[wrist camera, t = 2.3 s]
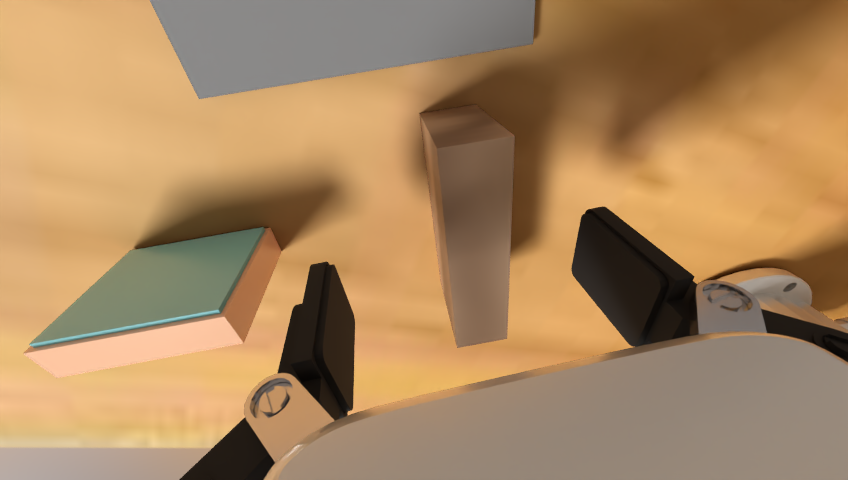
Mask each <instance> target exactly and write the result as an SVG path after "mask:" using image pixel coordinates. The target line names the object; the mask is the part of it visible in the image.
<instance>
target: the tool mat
mask: <svg viewBox="0 0 848 480" xmlns="http://www.w3.org/2000/svg"><path fill="white" fill-rule="evenodd" d="M150 2H151V4H152V6H153V8H154V10H155V12H156V14H157V16H158V18H159V20H160V22H161V24H162V26H163V28H164V30H165V32H166V34H167V36H168V38H169V40H170V42H171V44H172V46H173V48H174V50H175V52H176V54H177V56H178V58H179V60H180V62H181V64H182V66H183V68H184V70H185V72H186V74H187V76H188V78H189V80H190V82H191V84H192V86H193V88H194V90H195V92H196V94H197V96H198V98H199V99H202V98H208V97H214V96H221V95H227V94H233V93H239V92H245V91H251V90H257V89H263V88H269V87H275V86H281V85H287V84H293V83H299V82H305V81H312V80H318V79H324V78H330V77H336V76H342V75H348V74H354V73H360V72H366V71H372V70H378V69H384V68H390V67H397V66H403V65H409V64H415V63H421V62H427V61H433V60H439V59H445V58H451V57H457V56H463V55H469V54H475V53H482V52H488V51H494V50H500V49H506V48H512V47H518V46H524V45H530V44H533V34H534V16H535V0H150Z"/></svg>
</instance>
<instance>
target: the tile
mask: <svg viewBox="0 0 848 480" xmlns="http://www.w3.org/2000/svg"><path fill="white" fill-rule="evenodd" d="M281 252H282V251H281V249H280V247H279V245H278V243H277V241H276V239H275V236H274V234H273V232H272V230H271V228H266V229H265V228H264V227H260V228H255V229H249V230H243V231H238V232H232V233H226V234H221V235H215V236H209V237H204V238H198V239H192V240H187V241H181V242H175V243H170V244H164V245H158V246H153V247H147V248H141V249H136V250H130V251H129V252H128V253H127V254H126V255H125V256H124V257H123V258H122V259H121V260H120V261H118V262H117V263H116V264H115V265H114V266H113V267H112V268H111V269H110V270H109V271H108V272H107V273H105V274H104V275H103V276H102V277H101V278H100V279H99V280H98V281H97V282H96V283H95V284H94V285H93V286H91V287H90V288H89V289H88V290H87V291H86V292H85V293H84V294H83V295H82V296H81V297H80V298H79V299H77V300H76V301H75V302H74V303H73V304H72V305H71V306H70V307H69V308H68V309H67V310H66V311H64V312H63V313H62V314H61V315H60V316H59V317H58V318H57V319H56V320H55V321H54V322H53V323H52V324H50V325H49V326H48V327H47V328H46V329H45V330H44V331H43V332H42V333H41V334H40V335H39V336H38V337H36V338H35V339H34V340H33V341H32V342H31V343H30V344H29V345H31V347H30V348H28V349H27V350H26V351H25V352H24V353H23V354H24V355H25V356H27V357H28V358H30V359H31V360H32V361H34V362H35V363H37V364H38V365H39V366H41V367H42V368H44V369H45V370H46V371H48V372H49V373H51V374H52V375H53V376H55V377H56V378H59V377H65V376H70V375H76V374H81V373H86V372H92V371H97V370H102V369H108V368H113V367H118V366H124V365H129V364H135V363H140V362H145V361H151V360H156V359H161V358H167V357H172V356H177V355H183V354H188V353H194V352H199V351H204V350H210V349H215V348H220V347H226V346H231V345H236V344H242V343H244V341H245V339H246V336H247V334H248V331H249V329H250V327H251V324H252V322H253V319H254V317H255V315H256V312H257V310H258V307H259V305H260V302H261V300H262V298H263V295H264V293H265V290H266V288H267V285H268V283H269V281H270V278H271V276H272V273H273V271H274V269H275V266H276V264H277V261H278V259H279V256H280V254H281Z"/></svg>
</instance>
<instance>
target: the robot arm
mask: <svg viewBox="0 0 848 480" xmlns="http://www.w3.org/2000/svg"><path fill="white" fill-rule="evenodd" d="M572 274H573V276H574V277H575V279H576V280H577V281H578V282H579V283H580V285H581V286H582V287H583V288H584V290H585V291H586V292H587V293H588V294H589V296H590V297H591V298H592V299H593V301H594V302H595V303H596V304H597V306H598V307H599V308H600V309H601V310H602V312H603V313H604V314H605V315H606V317H607V318H608V319H609V320H610V322H611V323H612V324H613V325H614V326H615V328H616V329H617V330H618V331H619V333H620V334H621V335H622V336H623V337H624V339H625V340H626V341H627V342H628V343H629V344H630V345H631V346H635V347H633V348H629V349H624V350H620V351H615V352H610V353H606V354H601V355H597V356H592V357H588V358H583V359H579V360H574V361H570V362H565V363H561V364H557V365H552V366H548V367H543V368H539V369H534V370H530V371H525V372H521V373H517V374H512V375H508V376H503V377H499V378H495V379H490V380H486V381H482V382H477V383H473V384H469V385H464V386H460V387H456V388H451V389H447V390H443V391H438V392H434V393H430V394H426V395H421V396H417V397H413V398H409V399H405V400H401V401H397V402H393V403H389V404H385V405H381V406H377V407H374V408H371V409H367V410H364V411H360V412H357V413H354V414H351V415H348V416H347V413H348V411H350V410H352V409H353V385H354V342H355V319H354V314H353V311H352V309H351V306H350V304H349V301H348V299H347V296H346V293H345V291H344V288H343V286H342V283H341V280H340V278H339V275H338V273H337V270H336V268H335V266H334V265H329V263H328V262H323V263H318V264H313V265H311V266H310V270H309V275H308V280H307V285H306V289H305V294H304V299H303V304H299V305H295V306H294V308H293V310H292V314H291V319H290V323H289V327H288V331H287V336H286V340H285V344H284V348H283V353H282V357H281V361H280V365H279V369H278V374H274V375H272V376H269V377H267V378H266V379H264V380H263V381H261V382H260V383H259V384H258V385H257V386H256V387H255V388H254V389H253V390H252V391H251V393H250V394H249V396H248V397H247V400H246V402H245V405H244V415H245V418H244V419H243V420H242V421H241V422H240V423H239V424H237V425H236V426H235V427H234V428H233V429H232V430H231V431H230V432H229V433H228V434H227V435H226V436H225V437H224V438H223V439H222V440H221V441H220V442H219V443H217V444H216V445H215V446H214V447H213V448H212V449H211V450H210V451H209V452H208V453H207V454H206V455H205V456H204V457H203V458H202V459H201V460H200V461H199V462H198V463H196V464H195V465H194V466H193V467H192V468H191V469H190V470H189V471H188V472H187V473H186V474H185V475H184V476H183V477H182V478H181V479H180V480H848V317H846V318H841V319H836V320H834V321H833V320H831V319H830V318H828V317H827V316H825V315H824V314H822V313H821V312H819V311H817V310H816V309H814V308H813V307H811V303H812V291H811V288H810V286H809V284H807V283H806V282H805V281H804V280H802V279H801V278H799V277H797V276H796V275H794V274H792V273H790V272H788V271H786V270H783V269H777V268H755V269H750V270H745V271H739V272H736V273H733V274H730V275H727V276H723V277H721V278H718V279H716V280H706V281H703V282H700V283H699V284H698V285H697V284H696V283H695V282H693V279H694V276H693V275H692V274H691V273H689V272H688V271H687V270H685V269H684V268H683V267H682V266H680V265H679V264H678V263H676V262H675V261H674V260H673V259H671V258H670V257H669V256H668V255H666V254H665V253H664V252H662V251H661V250H660V249H659V248H657V247H656V246H655V245H653V244H652V243H651V242H650V241H648V240H647V239H646V238H645V237H643V236H642V235H641V234H639V233H638V232H637V231H636V230H634V229H633V228H632V227H630V226H629V225H628V224H627V223H625V222H624V221H623V220H622V219H620V218H619V217H618V216H616V215H615V214H614V213H613V212H611V211H610V210H609V209H607V208H606V207H598V208H593V209H588V210H587V211H586V212H585V214H583V215H582V217H581V222H580V227H579V232H578V237H577V242H576V248H575V253H574V258H573V263H572Z"/></svg>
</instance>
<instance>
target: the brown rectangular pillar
mask: <svg viewBox="0 0 848 480" xmlns="http://www.w3.org/2000/svg"><path fill="white" fill-rule="evenodd" d="M420 121H421V129H422V137H423V145H424V153H425V161H426V169H427V177H428V185H429V193H430V201H431V209H432V217H433V225H434V232H435V240H436V248H437V256H438V264H439V272H440V280H441V285H442V289H443V293H444V297H445V301H446V305H447V309H448V313H449V317H450V321H451V325H452V329H453V333H454V337H455V341H456V345H457V348H460V347H465V346H470V345H476V344H481V343H487V342H492V341H497V340H503V339H507V326H508V300H509V275H510V249H511V223H512V197H513V171H514V145H515V135H513V134H512V133H511V132H510V131H508V130H507V129H506V128H504V127H503V126H502V125H501V124H499V123H498V122H497V121H496V120H494V119H493V118H492V117H491V116H489V115H488V114H487V113H486V112H484V111H483V110H482V109H481V108H479V107H478V106H477V105H476V104H474V105H468V106H462V107H456V108H449V109H443V110H437V111H431V112H424V113H420Z"/></svg>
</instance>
